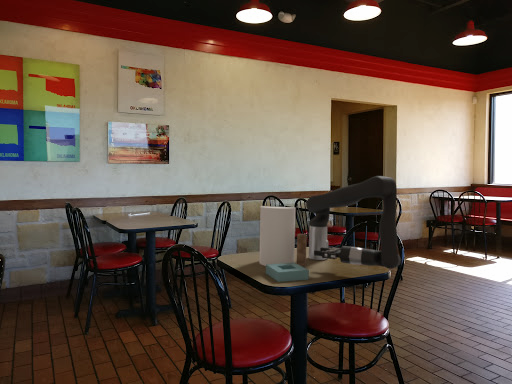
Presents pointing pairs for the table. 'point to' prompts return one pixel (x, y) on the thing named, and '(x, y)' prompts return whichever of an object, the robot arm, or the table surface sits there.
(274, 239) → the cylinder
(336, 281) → the table surface
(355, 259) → the robot arm
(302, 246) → the walnut peg
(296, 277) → the collar
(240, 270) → the table surface
